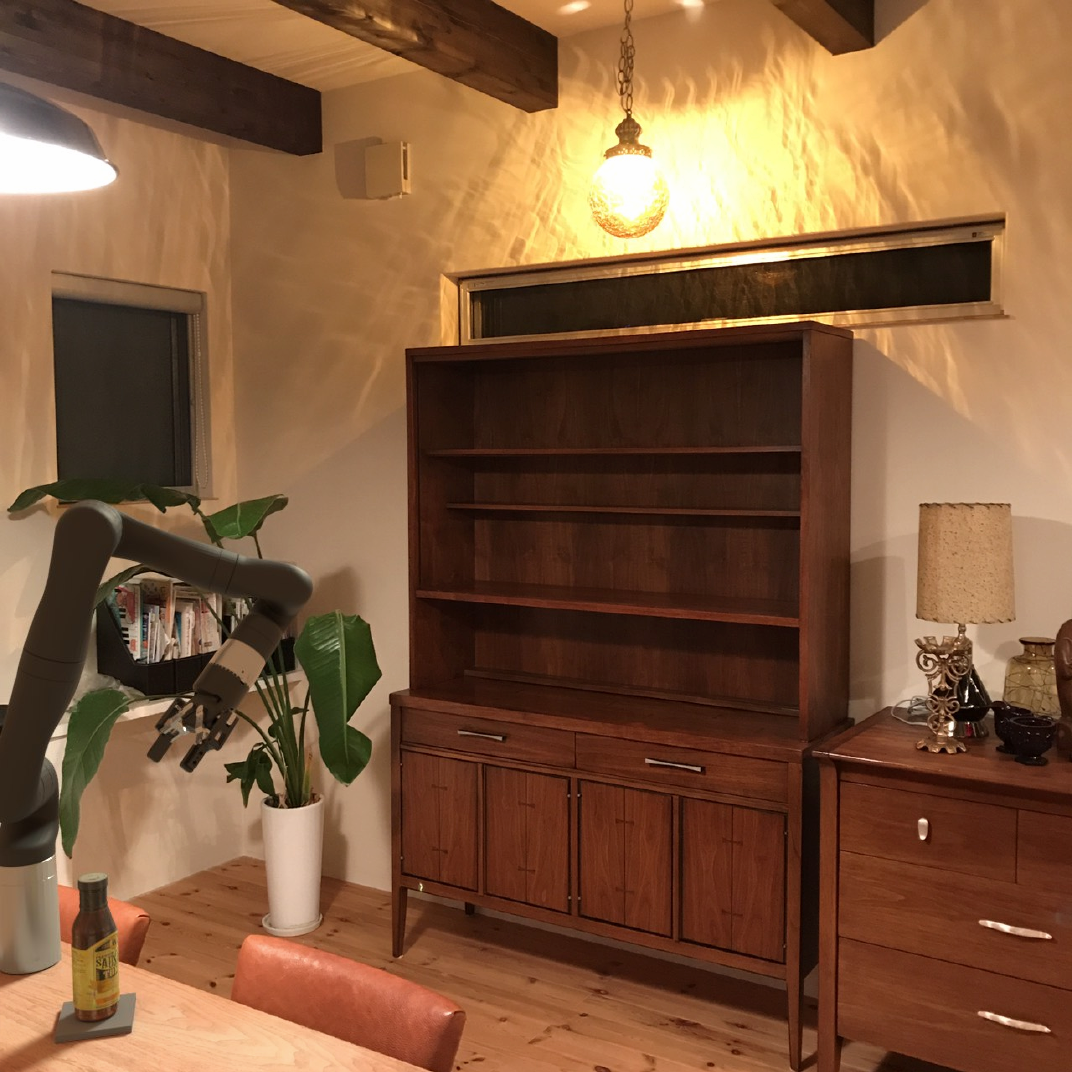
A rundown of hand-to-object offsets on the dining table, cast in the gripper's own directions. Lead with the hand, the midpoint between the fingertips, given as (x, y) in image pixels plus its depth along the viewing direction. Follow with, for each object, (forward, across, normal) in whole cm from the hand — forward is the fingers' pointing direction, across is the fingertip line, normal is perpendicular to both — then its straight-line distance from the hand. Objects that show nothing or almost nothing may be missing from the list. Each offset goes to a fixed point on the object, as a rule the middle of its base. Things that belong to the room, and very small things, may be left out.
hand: (167, 764), depth 172 cm
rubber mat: (+33, -1, +16) cm, 37 cm away
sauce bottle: (+33, -1, +15) cm, 36 cm away
